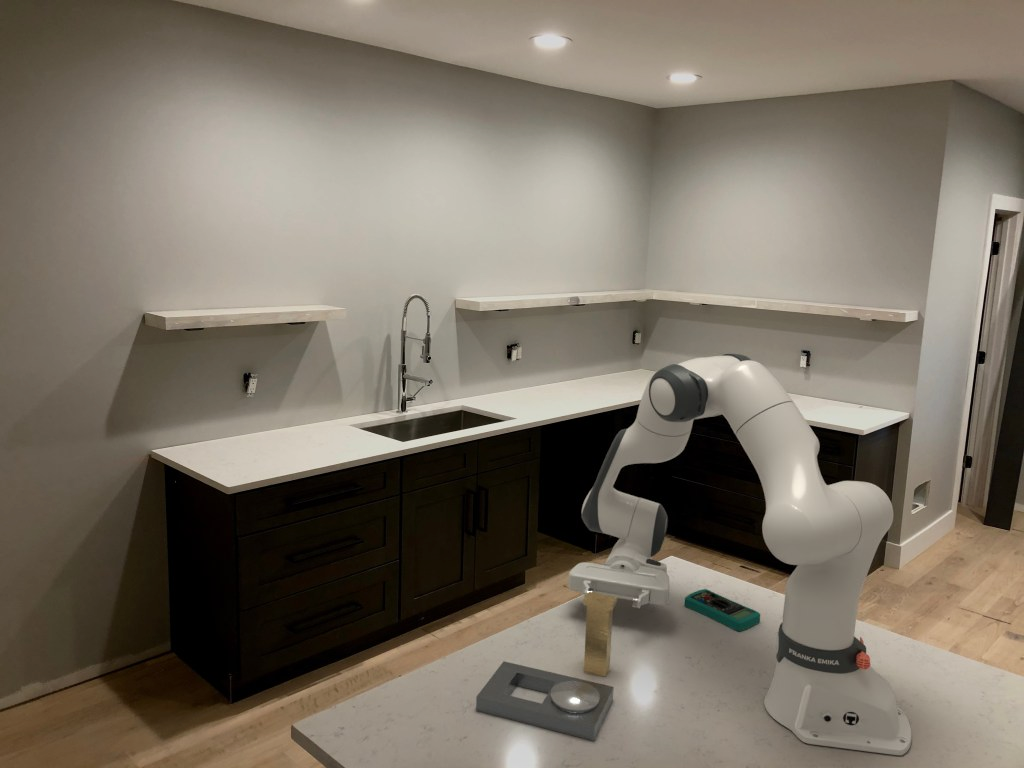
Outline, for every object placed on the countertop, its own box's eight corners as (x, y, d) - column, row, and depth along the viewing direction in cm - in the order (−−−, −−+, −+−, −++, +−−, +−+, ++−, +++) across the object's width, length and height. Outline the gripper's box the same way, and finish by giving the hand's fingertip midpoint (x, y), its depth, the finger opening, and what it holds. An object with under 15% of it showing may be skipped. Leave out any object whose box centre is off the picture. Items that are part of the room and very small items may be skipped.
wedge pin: (613, 668, 145) (617, 596, 142) (608, 678, 141) (612, 605, 139) (585, 662, 147) (589, 591, 144) (580, 672, 143) (583, 599, 141)
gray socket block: (612, 700, 135) (613, 682, 134) (594, 741, 124) (595, 721, 123) (503, 674, 142) (503, 657, 141) (476, 710, 131) (476, 692, 130)
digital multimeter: (702, 598, 175) (703, 585, 175) (761, 624, 164) (762, 611, 163) (681, 607, 171) (682, 594, 170) (739, 635, 159) (740, 621, 159)
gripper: (576, 550, 169) (560, 576, 156) (674, 565, 163) (665, 593, 150) (575, 578, 170) (559, 606, 157) (672, 594, 164) (663, 624, 151)
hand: (611, 600), depth 154 cm, fingers open, 8 cm apart
